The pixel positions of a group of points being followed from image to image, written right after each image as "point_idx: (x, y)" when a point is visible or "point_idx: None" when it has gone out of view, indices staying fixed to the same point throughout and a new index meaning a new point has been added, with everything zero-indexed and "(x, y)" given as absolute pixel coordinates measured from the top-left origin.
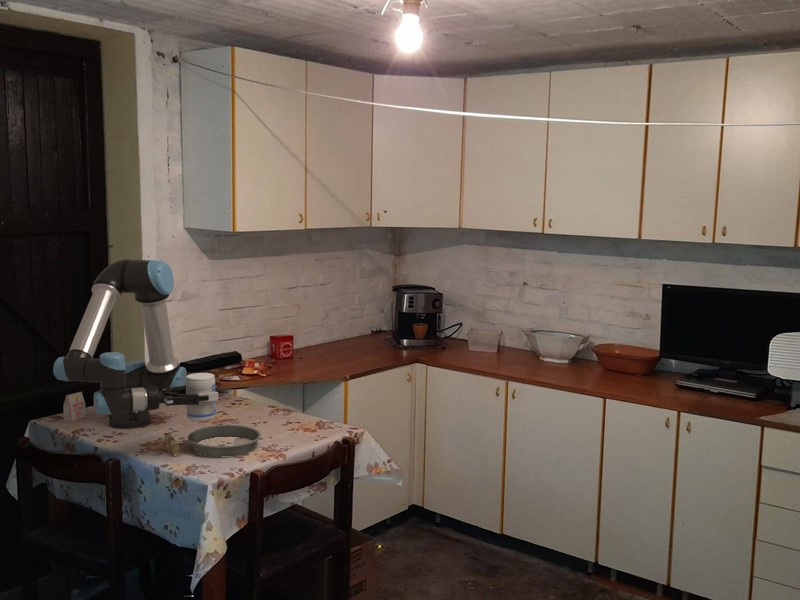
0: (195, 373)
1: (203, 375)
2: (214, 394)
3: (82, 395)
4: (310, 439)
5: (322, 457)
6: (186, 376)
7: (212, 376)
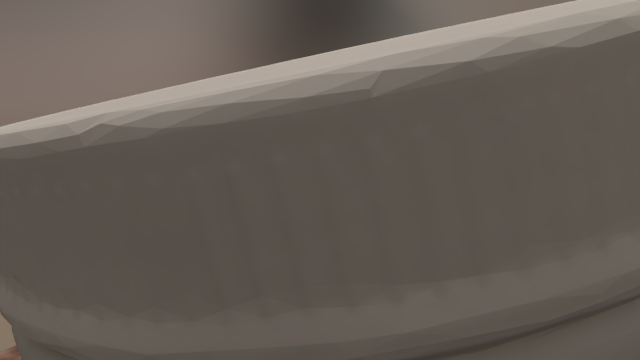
0: (28, 120)
1: (327, 53)
2: None
3: None
4: None
5: None
6: (253, 92)
7: (430, 30)
